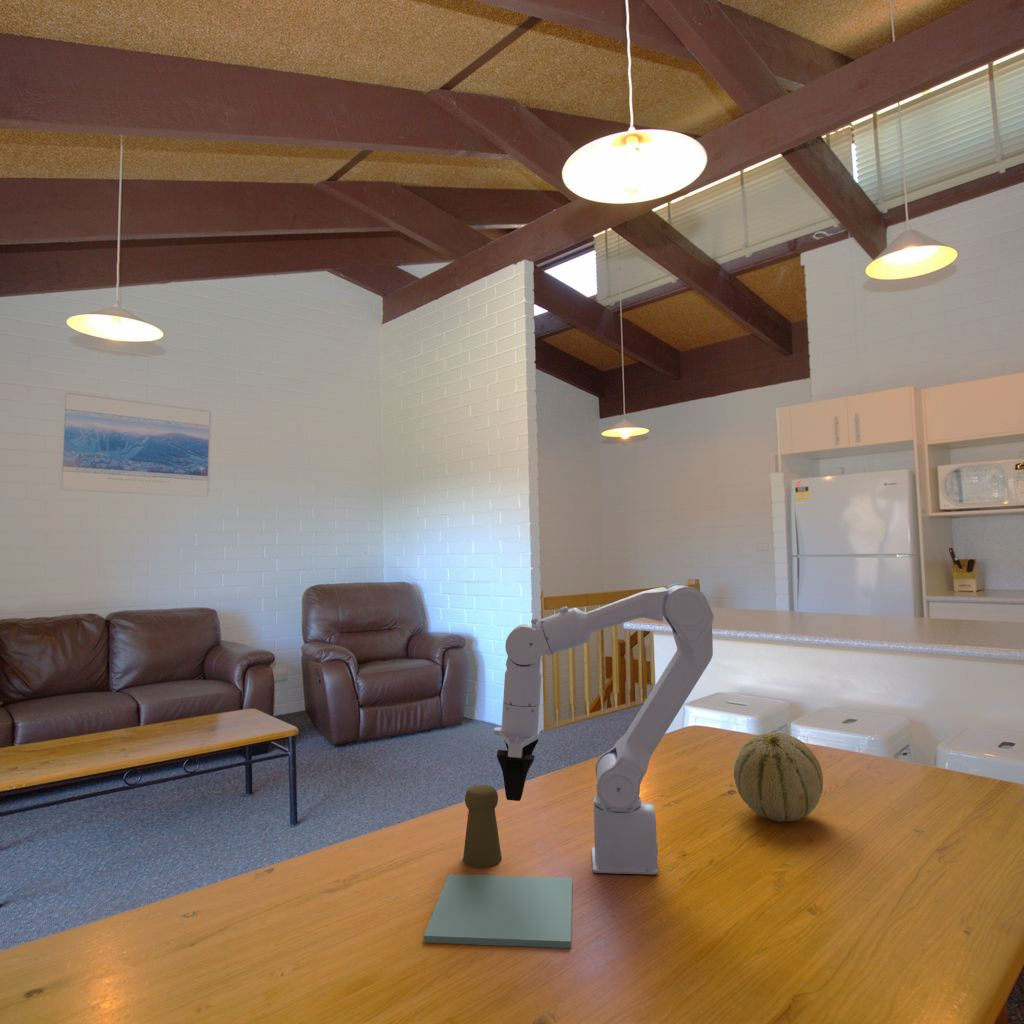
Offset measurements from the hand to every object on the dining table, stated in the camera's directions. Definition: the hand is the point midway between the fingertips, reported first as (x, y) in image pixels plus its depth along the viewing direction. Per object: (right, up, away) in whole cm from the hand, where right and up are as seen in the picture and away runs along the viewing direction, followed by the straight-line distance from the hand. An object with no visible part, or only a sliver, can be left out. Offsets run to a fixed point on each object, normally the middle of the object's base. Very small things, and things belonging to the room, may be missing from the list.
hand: (515, 790), depth 107 cm
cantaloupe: (+46, -11, +14) cm, 50 cm away
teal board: (-2, -10, -15) cm, 18 cm away
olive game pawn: (-5, -11, 0) cm, 12 cm away
